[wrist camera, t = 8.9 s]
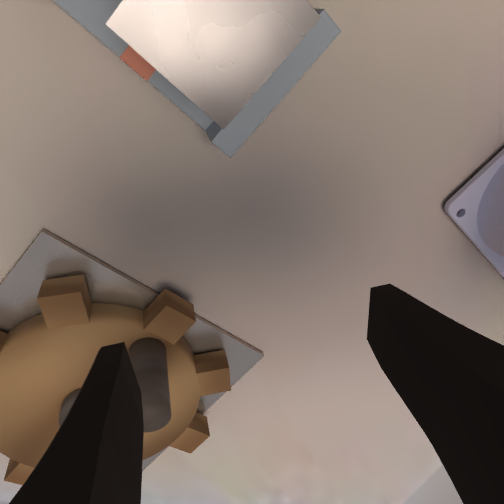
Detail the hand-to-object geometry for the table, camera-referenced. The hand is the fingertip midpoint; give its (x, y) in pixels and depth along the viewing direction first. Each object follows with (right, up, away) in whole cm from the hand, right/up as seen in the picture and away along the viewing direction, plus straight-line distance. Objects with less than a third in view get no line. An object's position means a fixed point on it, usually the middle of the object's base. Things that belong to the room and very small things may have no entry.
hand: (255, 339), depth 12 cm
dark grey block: (-2, +11, +3) cm, 12 cm away
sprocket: (-9, -5, +12) cm, 15 cm away
